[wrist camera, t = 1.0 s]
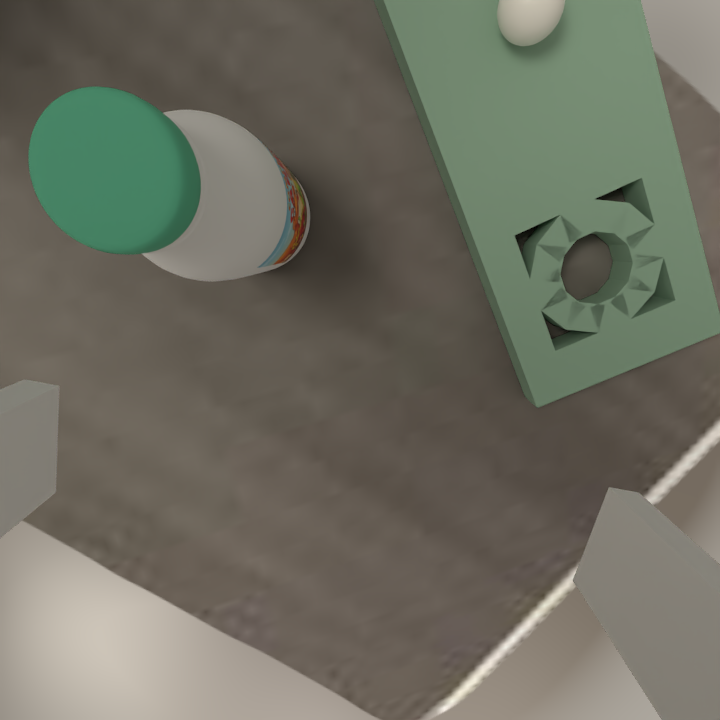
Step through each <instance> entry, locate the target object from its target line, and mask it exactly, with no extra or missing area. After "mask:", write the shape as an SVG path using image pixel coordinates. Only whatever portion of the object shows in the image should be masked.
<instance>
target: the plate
mask: <svg viewBox="0 0 720 720" xmlns="http://www.w3.org/2000/svg"><path fill="white" fill-rule="evenodd" d="M374 2H375V5H376V7H377V10H378V13H379V15H380V18H381V20H382V23H383V26H384V28H385V31H386V34H387V36H388V39H389V41H390V44H391V47H392V49H393V52H394V55H395V57H396V60H397V62H398V65H399V68H400V70H401V73H402V76H403V78H404V81H405V83H406V86H407V89H408V91H409V94H410V97H411V99H412V102H413V104H414V107H415V110H416V112H417V115H418V117H419V120H420V123H421V125H422V128H423V131H424V133H425V136H426V138H427V141H428V144H429V146H430V149H431V152H432V154H433V157H434V159H435V162H436V165H437V167H438V170H439V173H440V175H441V178H442V180H443V183H444V186H445V188H446V191H447V194H448V196H449V199H450V201H451V204H452V207H453V209H454V212H455V215H456V217H457V220H458V222H459V225H460V228H461V230H462V233H463V235H464V238H465V241H466V243H467V246H468V249H469V251H470V254H471V256H472V259H473V262H474V264H475V267H476V270H477V272H478V275H479V277H480V280H481V283H482V285H483V288H484V291H485V293H486V296H487V298H488V301H489V304H490V306H491V309H492V312H493V314H494V317H495V319H496V322H497V325H498V327H499V330H500V333H501V335H502V338H503V340H504V343H505V346H506V348H507V351H508V353H509V356H510V359H511V361H512V364H513V367H514V369H515V372H516V374H517V377H518V380H519V382H520V385H521V388H522V390H523V393H524V395H525V397H526V398H527V399H528V400H529V401H530V402H531V403H532V404H533V405H534V406H536V407H537V408H538V407H541V406H543V405H546V404H548V403H551V402H553V401H555V400H558V399H560V398H563V397H565V396H568V395H570V394H573V393H575V392H577V391H580V390H582V389H585V388H587V387H590V386H592V385H595V384H597V383H599V382H602V381H604V380H607V379H609V378H612V377H614V376H616V375H619V374H621V373H624V372H626V371H629V370H631V369H634V368H636V367H638V366H641V365H643V364H646V363H648V362H651V361H653V360H655V359H658V358H660V357H663V356H665V355H668V354H670V353H673V352H675V351H677V350H680V349H682V348H685V347H687V346H690V345H692V344H694V343H697V342H699V341H702V340H704V339H707V338H709V337H712V336H714V335H716V334H719V333H720V313H719V309H718V305H717V301H716V297H715V293H714V289H713V285H712V281H711V277H710V273H709V269H708V265H707V261H706V257H705V253H704V249H703V245H702V241H701V237H700V233H699V229H698V225H697V221H696V218H695V214H694V210H693V206H692V202H691V198H690V194H689V190H688V186H687V182H686V178H685V174H684V170H683V166H682V162H681V158H680V154H679V150H678V146H677V142H676V138H675V134H674V130H673V126H672V123H671V119H670V115H669V111H668V107H667V103H666V99H665V95H664V91H663V87H662V83H661V79H660V75H659V71H658V67H657V63H656V59H655V55H654V51H653V47H652V44H651V39H650V35H649V31H648V28H647V24H646V20H645V16H644V12H643V8H642V4H641V0H565V6H564V10H563V13H562V16H561V18H560V20H559V22H558V24H557V25H556V27H555V28H554V30H553V31H552V32H551V33H550V34H549V35H548V36H547V37H546V38H545V39H543V40H542V41H540V42H538V43H536V44H534V45H530V46H517V45H514V44H512V43H510V42H509V41H508V40H507V39H506V38H505V37H504V36H503V35H502V33H501V31H500V29H499V25H498V20H497V8H498V3H499V0H374ZM620 187H621V188H622V191H623V195H624V198H625V202H616V201H607V200H597V199H596V198H598V197H600V196H602V195H605V194H607V193H609V192H611V191H613V190H616V189H618V188H620ZM536 225H538V227H537V228H536V229H535V231H534V232H533V233H532V234H531V236H530V237H529V238H528V239H527V241H526V242H525V243H524V245H523V251H522V255H521V252H520V249H519V247H518V244H517V241H516V238H515V235H517V234H519V233H521V232H523V231H525V230H528V229H530V228H532V227H534V226H536ZM588 234H595V235H597V236H598V237H599V238H600V239H601V240H603V241H604V242H605V243H606V244H608V247H609V250H610V253H611V257H612V260H613V263H612V267H611V271H610V276H609V279H608V280H607V281H606V283H605V284H604V285H603V286H602V287H601V289H600V290H599V291H598V292H597V293H595V294H593V295H591V296H588V297H586V298H584V299H581V300H576V299H575V298H573V297H572V296H571V295H570V294H568V293H567V292H566V290H565V287H564V284H563V281H562V278H561V275H560V273H561V268H562V264H563V259H564V255H565V254H566V253H567V251H568V250H569V249H570V248H571V246H572V245H573V244H574V243H575V241H576V240H577V239H579V238H582V237H584V236H586V235H588ZM651 296H652V297H651ZM544 318H545V319H546V320H547V321H549V322H550V323H551V324H553V325H556V326H558V327H561V328H563V329H566V330H572V331H570V332H568V333H565V334H563V335H561V336H558V337H556V338H554V339H551V337H550V334H549V331H548V329H547V326H546V323H545V320H544Z"/></svg>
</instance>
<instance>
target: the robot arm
mask: <svg viewBox="0 0 720 720" xmlns="http://www.w3.org/2000/svg"><path fill="white" fill-rule="evenodd" d="M58 411H59V386H58V385H52V384H47V383H41V382H36V381H30V380H22V381H20V382H17V383H15V384H12V385H10V386H8V387H5V388H3V389H0V538H1V537H2V536H4V535H5V534H6V533H7V532H8V531H10V530H11V529H12V528H13V527H14V526H16V525H17V524H18V523H19V522H20V521H22V520H23V519H24V518H25V517H27V516H28V515H29V514H30V513H31V512H33V511H34V510H35V509H36V508H37V507H39V506H40V505H41V504H42V503H43V502H45V501H46V500H47V499H48V498H49V497H51V496H52V495H53V494H54V493H56V473H57V442H58ZM573 582H574V583H575V585H576V586H577V588H578V589H579V591H580V592H581V594H582V596H583V597H584V599H585V600H586V602H587V603H588V605H589V607H590V608H591V610H592V611H593V613H594V614H595V616H596V618H597V619H598V621H599V622H600V624H601V625H602V627H603V628H604V630H605V632H606V633H607V635H608V636H609V638H610V639H611V641H612V643H613V644H614V646H615V647H616V649H617V650H618V652H619V654H620V655H621V656H622V658H623V660H624V661H625V663H626V665H627V666H628V668H629V669H630V671H631V672H632V674H633V675H634V677H635V679H636V680H637V681H638V683H639V685H640V686H641V688H642V689H643V691H644V693H645V694H646V696H647V697H648V699H649V701H650V702H651V704H652V705H653V707H654V708H655V710H656V711H657V713H658V715H659V716H660V718H661V719H662V720H720V564H719V563H717V562H716V561H715V560H714V559H713V558H712V557H711V556H710V555H709V554H707V553H706V552H705V551H704V550H703V549H702V548H701V547H700V546H698V545H697V544H696V543H695V542H694V541H693V540H692V539H690V538H689V537H688V536H687V535H686V534H685V533H683V531H681V530H680V529H679V528H678V527H677V526H676V525H674V524H673V523H672V522H671V521H670V520H669V519H668V518H667V517H666V516H665V515H663V514H662V513H661V512H660V511H659V510H658V509H657V508H656V507H654V506H653V505H652V504H651V503H650V502H649V501H648V500H647V499H645V498H644V497H643V496H642V495H641V494H640V493H638V492H633V491H628V490H622V489H617V488H611V487H609V488H608V491H607V493H606V496H605V499H604V501H603V504H602V506H601V509H600V512H599V514H598V517H597V519H596V522H595V525H594V527H593V530H592V532H591V535H590V537H589V540H588V543H587V545H586V548H585V550H584V553H583V556H582V558H581V561H580V563H579V566H578V568H577V571H576V574H575V576H574V579H573Z"/></svg>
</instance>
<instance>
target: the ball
mask: <svg viewBox="0 0 720 720" xmlns="http://www.w3.org/2000/svg"><path fill="white" fill-rule="evenodd" d="M564 6H565V0H499V3H498V8H497V20H498V25H499V29H500V31H501V33H502V35H503V36H504V37H505V38H506V39H507V40H508V41H509V42H510V43H512V44H514V45H517V46H530V45H534V44H536V43H538V42H540V41H542V40H543V39H545V38H546V37H547V36H548V35H549V34H550V33H551V32H552V31H553V30H554V28H555V27H556V25H557V24H558V22H559V20H560V18H561V16H562V13H563V10H564Z"/></svg>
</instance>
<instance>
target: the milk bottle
mask: <svg viewBox="0 0 720 720" xmlns="http://www.w3.org/2000/svg"><path fill="white" fill-rule="evenodd" d="M29 171H30V176H31V180H32V184H33V187H34V190H35V192H36V195H37V197H38V199H39V201H40V203H41V205H42V206H43V208H44V210H45V211H46V213H47V214H48V215H49V217H50V218H51V219H52V220H53V221H54V223H55V224H56V225H57V226H58V227H59V228H60V229H62V230H63V231H64V232H65V233H66V234H68V235H69V236H71V237H72V238H73V239H75V240H77V241H78V242H80V243H82V244H84V245H87V246H89V247H91V248H93V249H96V250H99V251H103V252H107V253H113V254H141V253H142V254H143V255H144V256H145V257H146V258H148V259H149V260H150V261H152V262H153V263H154V264H156V265H157V266H159V267H161V268H162V269H164V270H166V271H168V272H171V273H173V274H176V275H178V276H181V277H184V278H188V279H193V280H199V281H210V282H211V281H225V280H233V279H238V278H242V277H246V276H251V275H255V274H259V273H262V272H266V271H269V270H272V269H275V268H278V267H280V266H282V265H284V264H285V263H287V262H288V261H290V260H291V259H292V258H293V257H294V256H295V255H296V254H297V253H298V252H299V251H300V249H301V248H302V246H303V244H304V243H305V240H306V238H307V235H308V232H309V227H310V208H309V203H308V199H307V197H306V194H305V192H304V190H303V188H302V186H301V184H300V183H299V181H298V180H297V179H296V177H295V176H294V175H293V174H292V173H291V171H290V170H289V169H288V168H287V167H286V166H285V165H284V164H283V163H282V162H281V161H280V160H279V159H278V158H277V157H276V156H275V155H274V154H273V153H272V152H271V151H270V150H269V149H268V148H267V147H266V146H265V145H264V144H263V143H262V142H261V141H260V140H259V139H257V138H256V137H255V136H254V135H252V134H251V133H250V132H249V131H247V130H246V129H245V128H243V127H242V126H240V125H238V124H237V123H235V122H233V121H231V120H228V119H226V118H224V117H221V116H219V115H216V114H213V113H209V112H204V111H197V110H176V111H169V112H164V113H162V112H161V111H160V110H158V109H157V108H156V107H154V106H153V105H151V104H150V103H148V102H146V101H144V100H143V99H141V98H139V97H137V96H135V95H133V94H131V93H128V92H126V91H122V90H119V89H114V88H108V87H85V88H80V89H76V90H73V91H70V92H68V93H66V94H64V95H62V96H60V97H59V98H57V99H56V100H54V101H53V102H52V103H51V104H50V105H49V106H48V107H47V108H46V109H45V110H44V112H43V113H42V114H41V116H40V117H39V119H38V121H37V123H36V125H35V127H34V130H33V132H32V136H31V139H30V145H29Z"/></svg>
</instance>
